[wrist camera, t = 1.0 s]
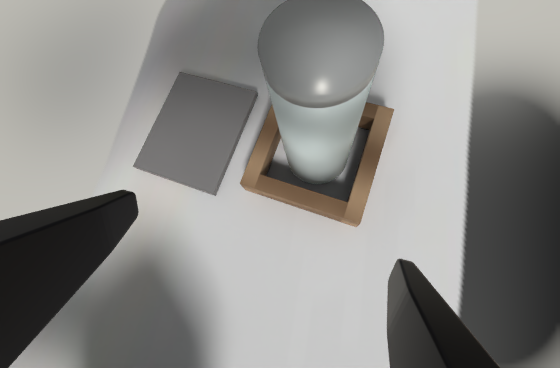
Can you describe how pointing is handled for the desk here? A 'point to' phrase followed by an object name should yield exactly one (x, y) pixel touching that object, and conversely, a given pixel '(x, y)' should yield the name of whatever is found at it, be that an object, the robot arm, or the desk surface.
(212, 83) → the rubber mat
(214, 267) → the desk surface
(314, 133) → the pale grey cylinder
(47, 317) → the robot arm
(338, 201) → the walnut collar
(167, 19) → the desk surface
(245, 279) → the desk surface
